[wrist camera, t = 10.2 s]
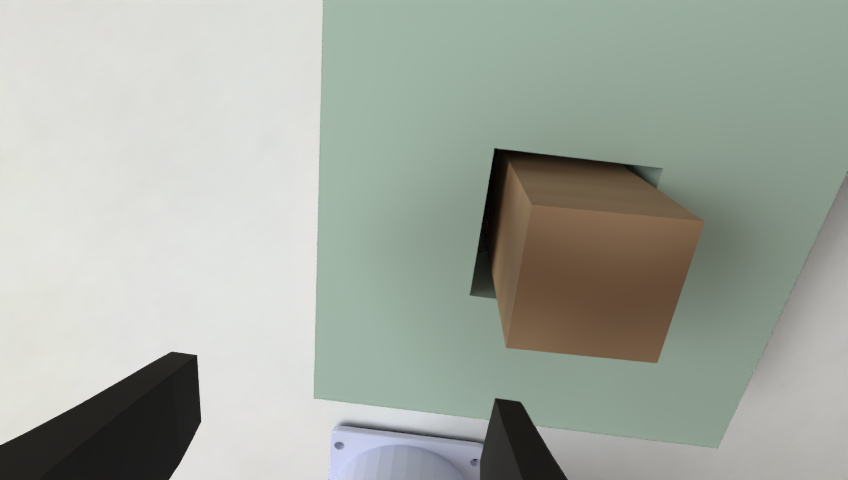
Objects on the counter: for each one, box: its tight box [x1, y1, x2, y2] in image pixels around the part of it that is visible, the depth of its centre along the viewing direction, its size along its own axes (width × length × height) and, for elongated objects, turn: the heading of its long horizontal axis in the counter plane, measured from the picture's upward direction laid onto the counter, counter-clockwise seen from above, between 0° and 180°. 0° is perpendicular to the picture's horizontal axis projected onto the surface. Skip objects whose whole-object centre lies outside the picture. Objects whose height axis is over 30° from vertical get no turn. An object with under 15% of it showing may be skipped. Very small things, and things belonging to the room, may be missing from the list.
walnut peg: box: [485, 149, 705, 363], centre depth 15 cm, size 4×4×8 cm
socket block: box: [314, 0, 848, 448], centre depth 17 cm, size 16×16×4 cm
